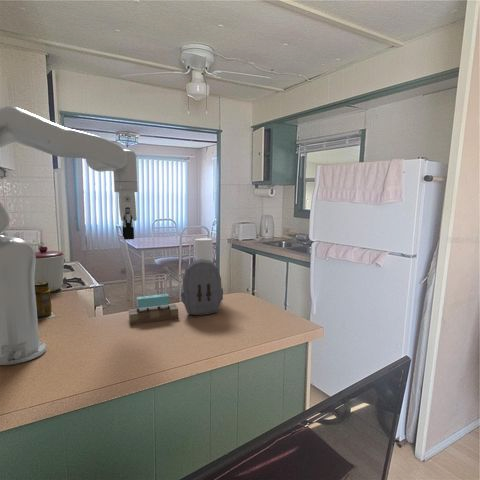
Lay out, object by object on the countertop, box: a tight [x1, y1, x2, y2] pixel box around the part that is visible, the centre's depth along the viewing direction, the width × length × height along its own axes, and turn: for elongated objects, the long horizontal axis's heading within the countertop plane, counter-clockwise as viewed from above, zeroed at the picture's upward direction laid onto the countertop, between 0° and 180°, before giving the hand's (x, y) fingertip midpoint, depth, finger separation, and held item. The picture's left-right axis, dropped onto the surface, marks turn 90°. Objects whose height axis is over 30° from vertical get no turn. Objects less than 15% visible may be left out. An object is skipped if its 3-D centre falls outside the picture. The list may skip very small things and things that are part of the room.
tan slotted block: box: [128, 303, 180, 326], centre depth 118 cm, size 6×16×4 cm, turn 111°
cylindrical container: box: [194, 237, 214, 263], centre depth 141 cm, size 7×7×25 cm
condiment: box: [35, 282, 57, 321], centre depth 122 cm, size 7×8×12 cm
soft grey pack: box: [180, 259, 224, 316], centre depth 121 cm, size 15×8×20 cm, turn 105°
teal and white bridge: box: [136, 293, 170, 313], centre depth 118 cm, size 3×10×8 cm, turn 112°
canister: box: [34, 245, 66, 293], centre depth 159 cm, size 18×18×21 cm
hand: (128, 238), depth 117 cm, fingers open, 9 cm apart
